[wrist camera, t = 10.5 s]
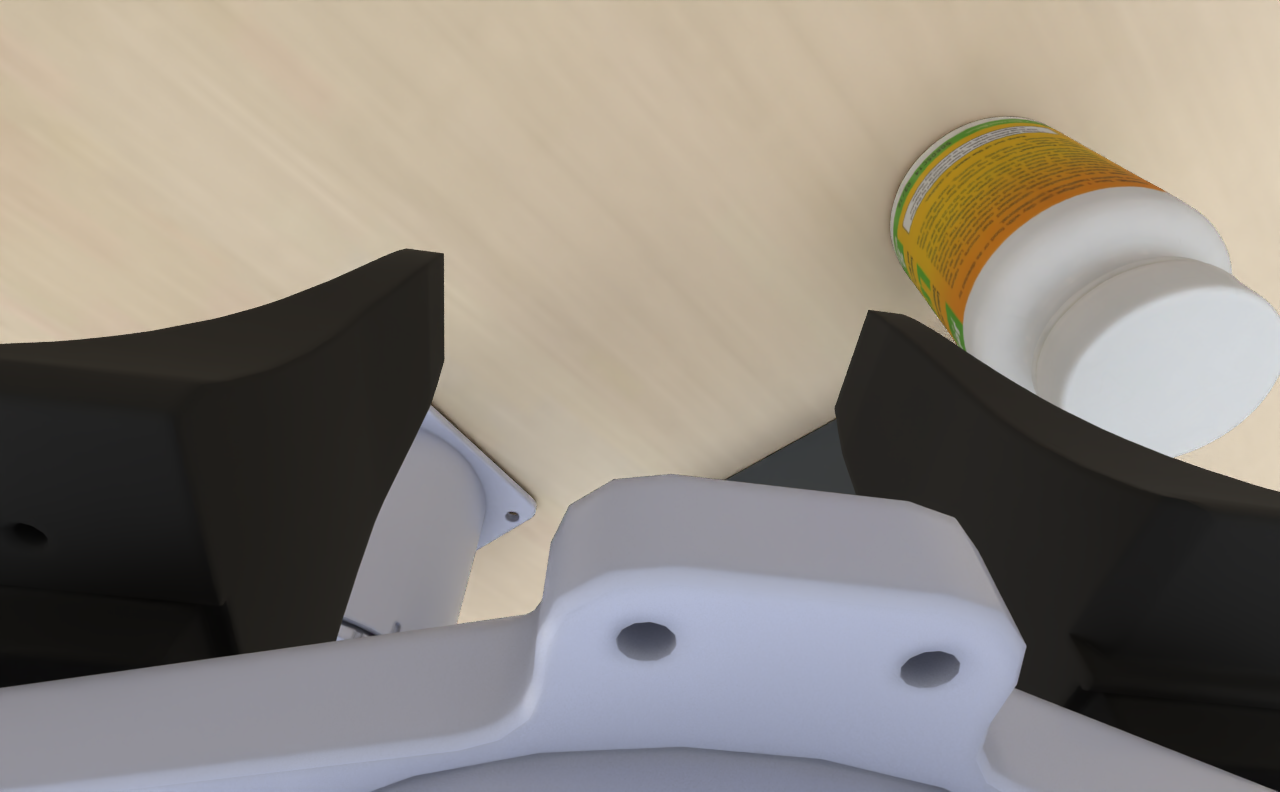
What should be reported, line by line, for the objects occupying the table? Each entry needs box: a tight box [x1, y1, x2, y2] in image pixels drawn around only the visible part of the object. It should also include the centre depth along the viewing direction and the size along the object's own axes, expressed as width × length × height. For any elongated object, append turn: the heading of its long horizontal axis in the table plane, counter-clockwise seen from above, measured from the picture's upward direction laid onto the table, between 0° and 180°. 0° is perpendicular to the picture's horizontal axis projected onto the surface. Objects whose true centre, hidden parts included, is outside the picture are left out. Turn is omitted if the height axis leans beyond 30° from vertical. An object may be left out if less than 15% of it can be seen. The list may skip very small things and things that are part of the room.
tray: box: [726, 419, 856, 495], centre depth 28 cm, size 13×13×4 cm
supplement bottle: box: [890, 117, 1280, 458], centre depth 18 cm, size 5×5×10 cm
